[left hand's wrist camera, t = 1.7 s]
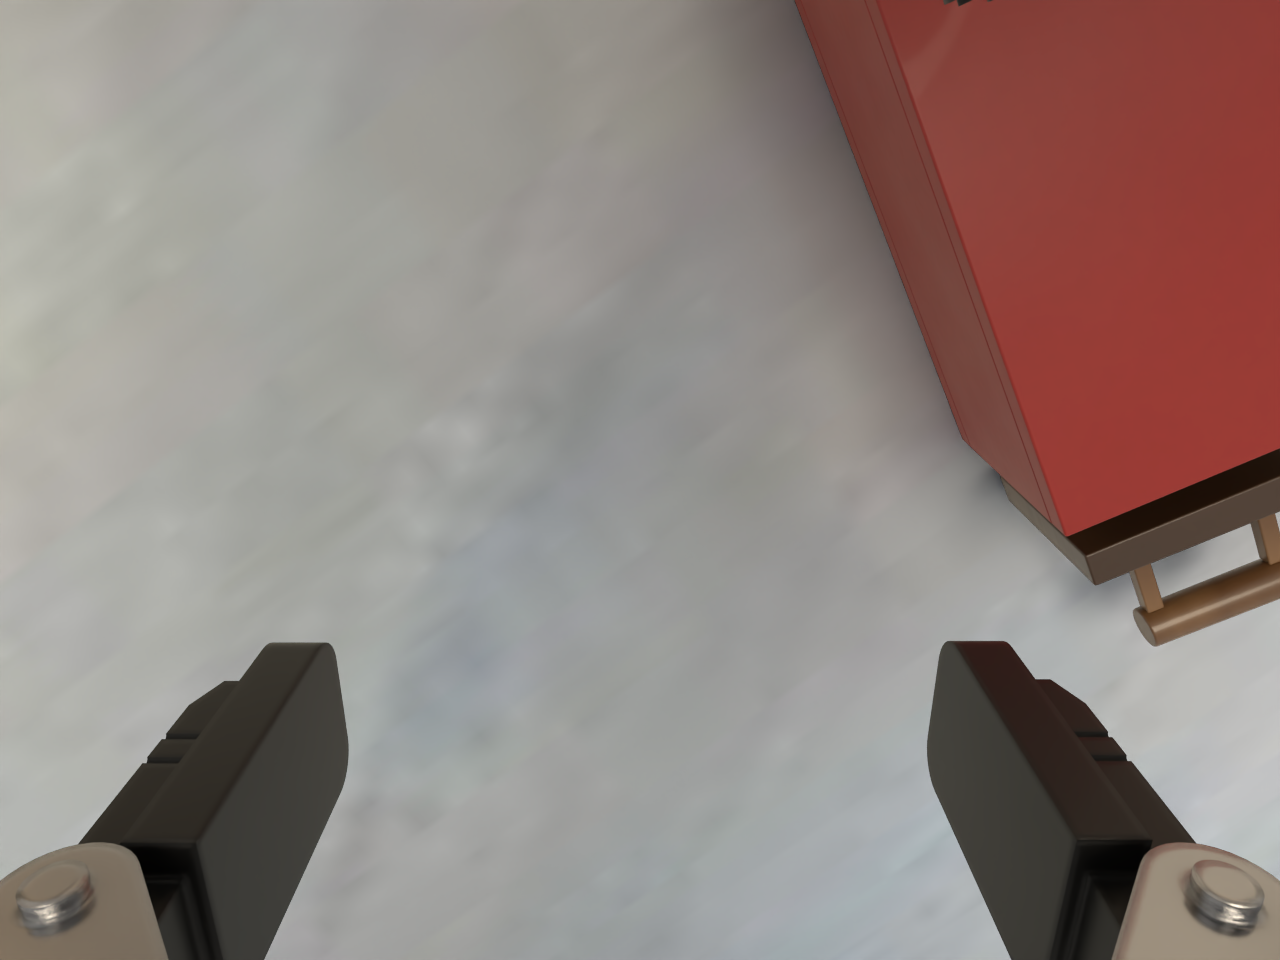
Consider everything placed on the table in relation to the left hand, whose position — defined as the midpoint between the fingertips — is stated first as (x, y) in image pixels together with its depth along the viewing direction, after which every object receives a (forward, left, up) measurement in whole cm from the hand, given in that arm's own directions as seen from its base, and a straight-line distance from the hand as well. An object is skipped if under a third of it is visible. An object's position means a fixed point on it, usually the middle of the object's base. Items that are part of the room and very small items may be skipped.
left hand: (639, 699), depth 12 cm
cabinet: (+3, -14, -23) cm, 27 cm away
